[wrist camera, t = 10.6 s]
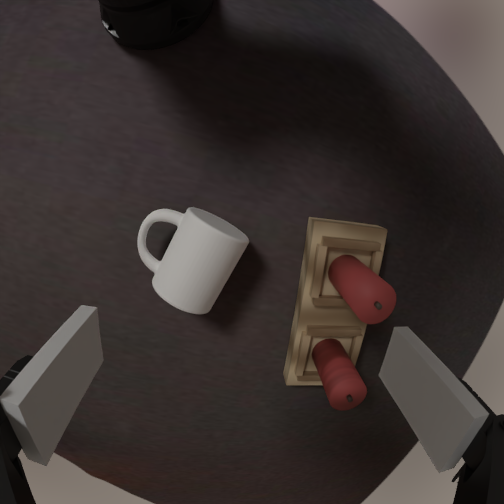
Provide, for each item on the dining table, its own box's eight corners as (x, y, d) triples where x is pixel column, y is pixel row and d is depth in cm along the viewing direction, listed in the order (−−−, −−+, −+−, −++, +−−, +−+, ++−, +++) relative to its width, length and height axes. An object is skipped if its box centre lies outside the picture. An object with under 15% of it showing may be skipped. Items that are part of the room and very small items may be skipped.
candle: (331, 253, 39) (364, 284, 29) (364, 256, 40) (404, 286, 29) (325, 287, 40) (353, 327, 30) (357, 289, 41) (393, 327, 30)
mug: (248, 232, 41) (252, 248, 33) (212, 296, 43) (208, 324, 35) (165, 188, 39) (149, 193, 31) (133, 255, 41) (113, 274, 33)
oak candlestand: (308, 216, 41) (343, 241, 28) (378, 225, 42) (433, 251, 28) (283, 373, 47) (298, 437, 34) (343, 373, 48) (372, 431, 34)
